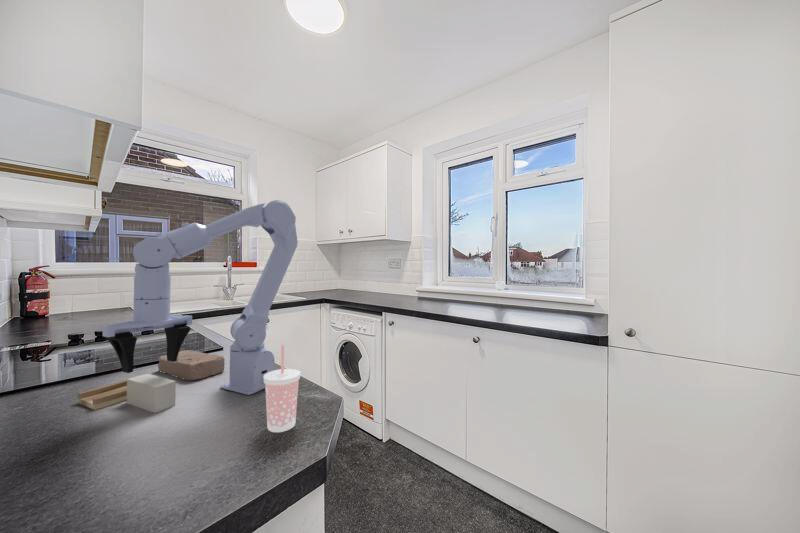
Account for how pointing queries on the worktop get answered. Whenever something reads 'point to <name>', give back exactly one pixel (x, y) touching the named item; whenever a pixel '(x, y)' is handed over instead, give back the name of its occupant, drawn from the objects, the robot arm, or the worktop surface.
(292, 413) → the beverage cup
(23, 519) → the worktop surface
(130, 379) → the white rectangular block
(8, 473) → the worktop surface
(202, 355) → the brick
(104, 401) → the wooden base plate
